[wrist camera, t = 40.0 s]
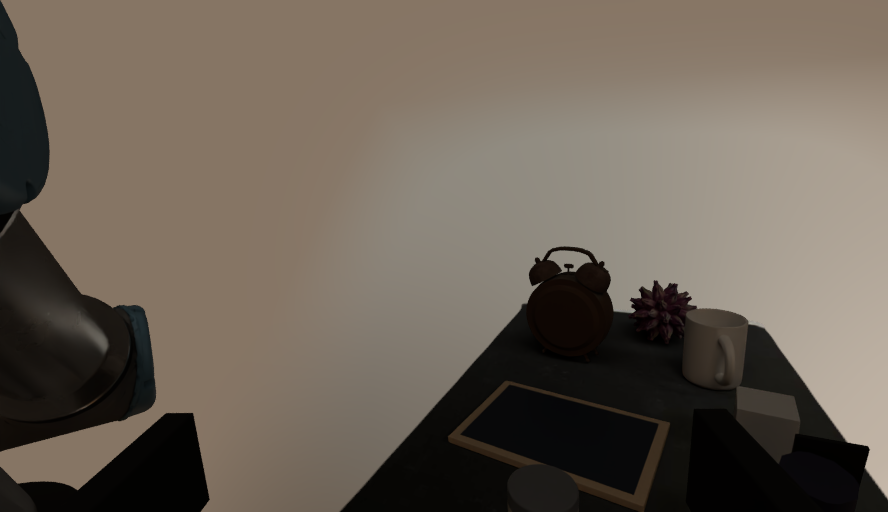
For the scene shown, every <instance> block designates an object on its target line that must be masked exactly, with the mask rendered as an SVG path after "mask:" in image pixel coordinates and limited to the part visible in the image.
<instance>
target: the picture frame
mask: <svg viewBox="0 0 888 512" xmlns="http://www.w3.org/2000/svg"><path fill="white" fill-rule="evenodd" d="M669 429H670V423H668V422H664V421H661V420H657V419H653V418H649V417H645V416H641V415H637V414H634V413H630V412H626V411H622V410H618V409H614V408H610V407H606V406H603V405H599V404H595V403H591V402H587V401H583V400H579V399H576V398H572V397H568V396H564V395H560V394H556V393H552V392H548V391H545V390H541V389H537V388H533V387H529V386H525V385H521V384H518V383H514V382H510V381H505V382H504V383H503V384H502V385H501V386H500V387H499V388H498V389H497V390H496V391H495V392H494V393H493V394H492V395H490V396H489V397H488V398H487V399H486V400H485V401H484V402H483V403H482V404H481V405H480V406H479V407H478V408H477V409H476V410H475V411H474V412H473V413H472V414H471V415H470V416H469V417H468V418H467V419H466V420H465V421H464V422H463V423H462V424H461V425H460V426H459V427H458V428H457V429H456V430H454V431H453V432H452V433H451V434H450V435H449V437H448V438H449V442H450V443H453V444H455V445H458V446H461V447H463V448H466V449H469V450H472V451H474V452H477V453H480V454H483V455H485V456H488V457H491V458H494V459H496V460H499V461H502V462H504V463H507V464H510V465H513V466H515V467H518V468H521V467H524V466H527V465H532V464H544V465H549V466H553V467H556V468H559V469H561V470H563V471H564V472H566V473H567V474H568V475H570V476H571V477H572V478H573V480H574V481H575V483H576V484H577V487H578V490H581V491H584V492H586V493H589V494H592V495H595V496H597V497H600V498H603V499H606V500H608V501H611V502H614V503H616V504H619V505H622V506H625V507H627V508H630V509H633V510H636V511H638V512H644V510H645V507H646V503H647V500H648V497H649V494H650V491H651V487H652V484H653V481H654V478H655V474H656V471H657V468H658V465H659V462H660V458H661V455H662V452H663V449H664V445H665V442H666V439H667V436H668V433H669Z"/></svg>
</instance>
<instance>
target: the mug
mask: <svg viewBox="0 0 888 512" xmlns="http://www.w3.org/2000/svg"><path fill="white" fill-rule="evenodd" d="M747 330H748V320H747V319H746V318H745V317H743V316H741V315H739V314H736V313H733V312H729V311H725V310H718V309H694V310H690V311H688V312H687V313H686V320H685V333H684V346H683V359H682V373H683V375H684V377H685V378H686V379H687V380H688V381H690V382H691V383H693V384H695V385H697V386H700V387H703V388H706V389H711V390H720V391H725V390H731V389H734V388H736V387H737V386H739V385H740V384H741V381H742V375H743V366H744V357H745V348H746V339H747Z"/></svg>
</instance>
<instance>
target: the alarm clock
mask: <svg viewBox="0 0 888 512" xmlns="http://www.w3.org/2000/svg"><path fill="white" fill-rule="evenodd" d="M559 250H567V251H576V252H581V253H583V254H586V255H588V256H589V258H590V259H591V261H592V262H593V263H585V264H584V265H582V266H581V267H580V268H579V269H578V270H577V271H576V272H569V268H573V267H574V266H573V265H572V264H564V267H565V268H568V272H563V273H560V272H561V271H562V270H561V268H560V267H559V266H558V265H557V264H556V263H555V262H554V261H551V260H547V259H548V257H549V256H550V254H551V253H552V252H554V251H559ZM535 262H536V264H535V265H534V266H533V267H532V268H531V270H530V272H529V279H530V282H531V285H532V286H533V285H536V284H538V283H541V282H542V283H541V284H540V285H539V286H538V287H537V288H536V289H535V290H534V291H533V293H532V294H531V296H530V298H529V300H528V304H527V312H526V313H527V321H528V324H529V327H530V329H531V331H532V333H533V335H534V336H535V337H536V339H537V340H538V341H539V342H540V343H541V344H542V345H543V346H544V347H545V348H544V350H542V352H543V353H545V351H546V350H547V349H549V350H550V351H552V352H554V353H557V354H560V355H564V356H580V355H583V356H584V357H585V359H586V362H589V361H590V360H589V359H588V356H587V353H589V352H590V351H592V350H593V351H594V352H595V355H596V356H598V355H599V353H598V352H597V350H596V347H597V346H598V345H599V344H600V343H601V342H602V341H603V340H604V339H605V337H606V335H607V334H608V332H609V329H610V327H611V324H612V321H613V305H612V302H611V299H610V296H609V295H608V293H607V289H608V287H609V285H610V281H611V279H610V275H609V273H608V271H607V270H606V269H605V268H604V267H603V266H604V262H603V261H601V262H600V263H599V264H598V262H597V260H596V259H595V257H594V256H593V254H592V253H591V252H590V251H588V250H585V249H582V248H577V247H556V248H552V249H551V250H549V251H548V252H547V254H546V255H545V257H544V259H543V260H542V261H540V259H539V258H535ZM558 273H559V274H558ZM556 274H557V275H556Z"/></svg>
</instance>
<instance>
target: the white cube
mask: <svg viewBox="0 0 888 512" xmlns="http://www.w3.org/2000/svg"><path fill="white" fill-rule="evenodd" d="M733 417H734V418H735V419H736V420H737V421H738V422H739V423H740V424H741V425H742V426H743V427H744V428H745V429H746V431H747V432H748V433H749V434H750V435H751V436H752V437H753V438H754V439H755V440H756V441H757V442H758V443H759V444H760V445H761V446H762V447H763V448H764V449H765V450H766V451H767V452H768V453H769V455H770V456H771V457H772V458H773V459H774V460H775V461H776V462H777V463H778V464H779V462H780V459H781V456H782V455H785V454H789V453H791V452H792V447H793V442H794V437H795V434H798V433H799V426H800V419H799V415H798V411H797V407H796V403H795V399H794V396H789V395H783V394H778V393H773V392H767V391H762V390H756V389H751V388H746V387H740V386H737V387H736V396H735V406H734V415H733Z"/></svg>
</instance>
